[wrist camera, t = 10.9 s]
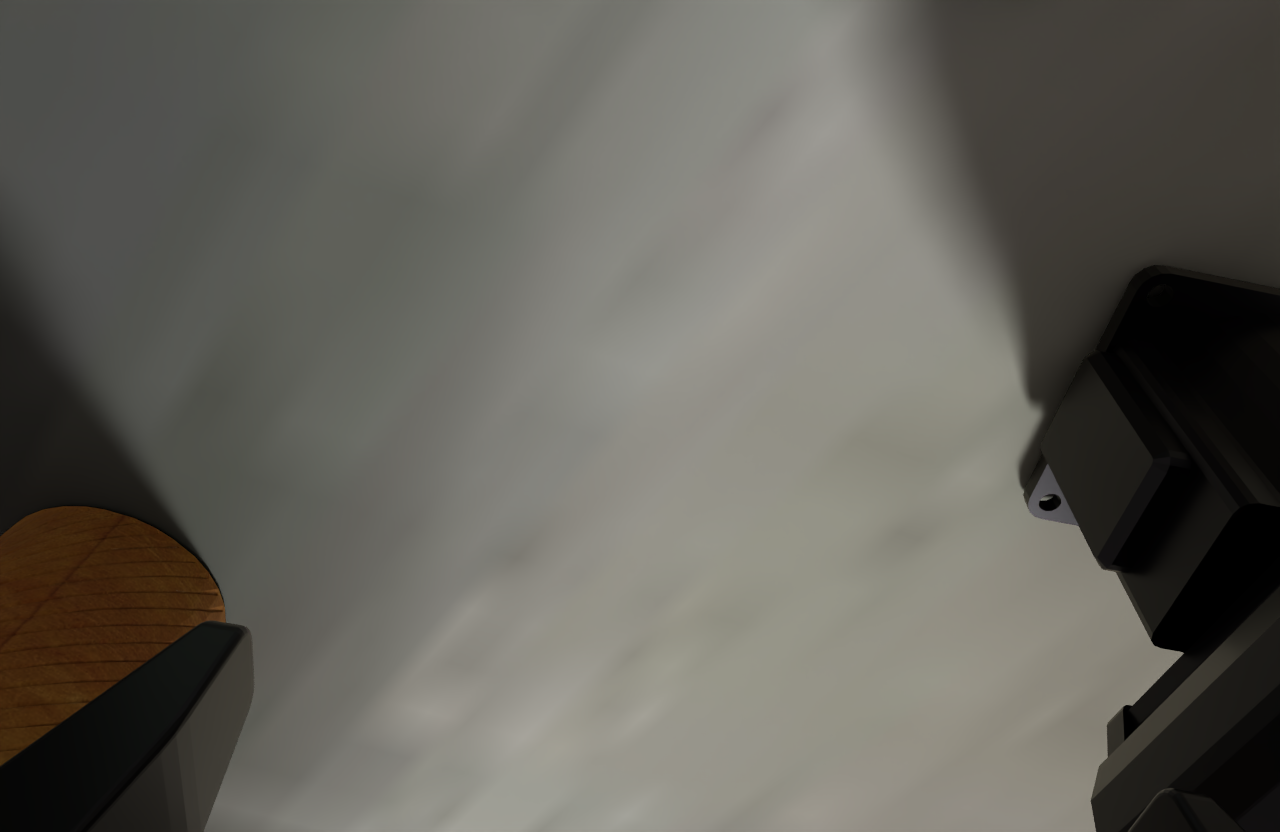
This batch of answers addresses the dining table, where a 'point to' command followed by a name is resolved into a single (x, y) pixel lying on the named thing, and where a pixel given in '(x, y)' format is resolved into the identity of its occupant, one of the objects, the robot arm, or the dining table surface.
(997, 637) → the dining table surface
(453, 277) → the dining table surface
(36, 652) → the disposable coffee cup
